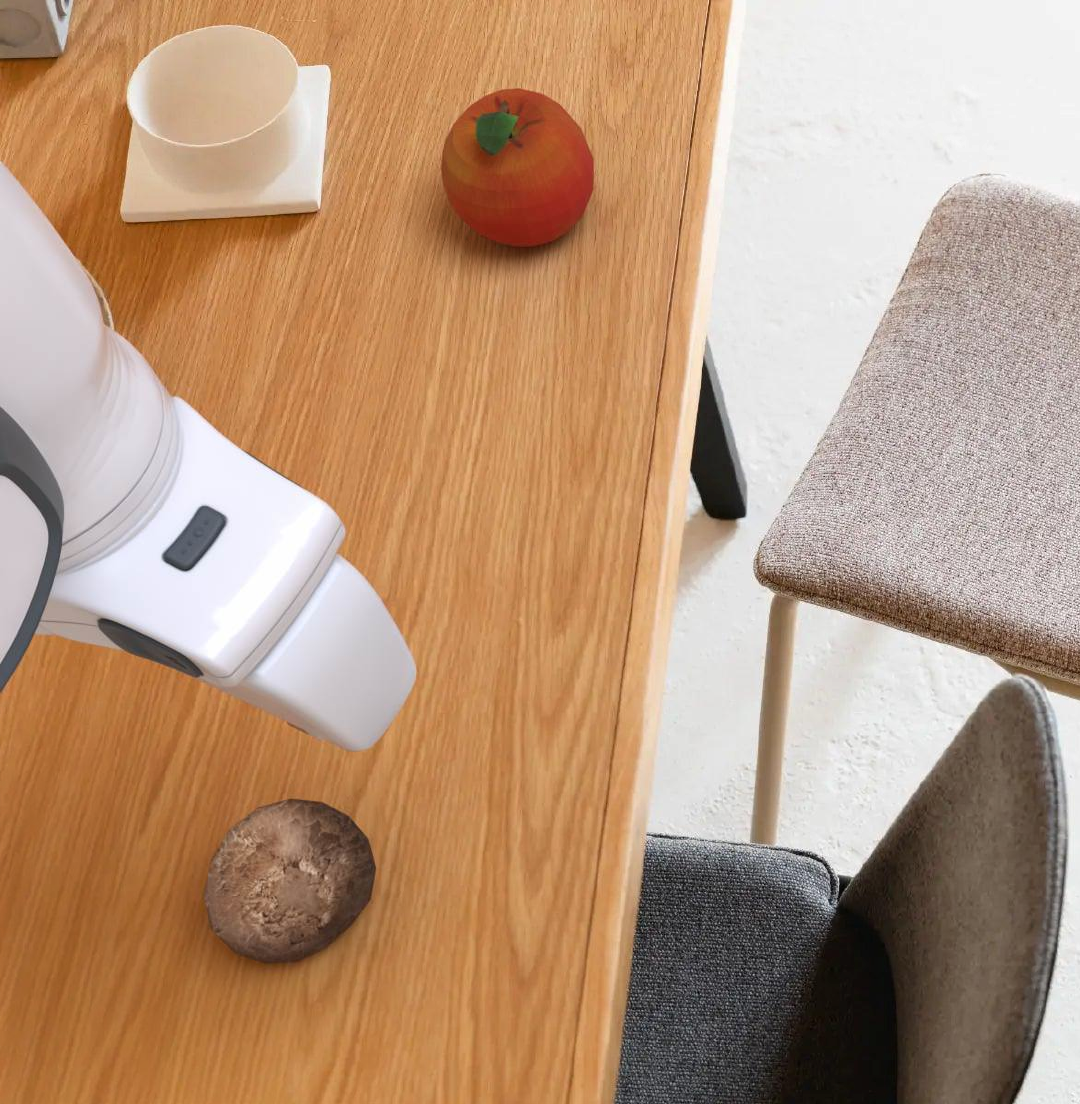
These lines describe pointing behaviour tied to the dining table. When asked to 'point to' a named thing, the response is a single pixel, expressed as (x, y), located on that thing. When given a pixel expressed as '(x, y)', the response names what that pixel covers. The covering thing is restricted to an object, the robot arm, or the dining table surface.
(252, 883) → the mushroom
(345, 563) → the robot arm
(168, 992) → the dining table surface
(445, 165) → the fruit
